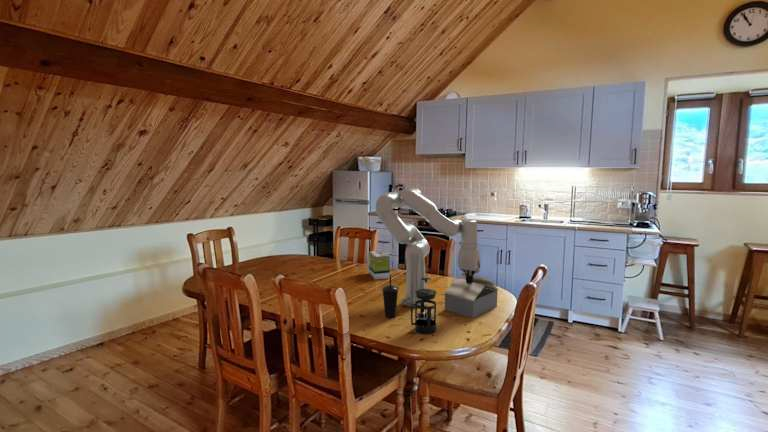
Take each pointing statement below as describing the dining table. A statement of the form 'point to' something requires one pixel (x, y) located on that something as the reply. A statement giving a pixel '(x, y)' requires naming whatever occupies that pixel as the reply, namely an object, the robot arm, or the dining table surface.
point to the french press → (425, 318)
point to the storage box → (472, 303)
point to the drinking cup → (390, 300)
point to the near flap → (464, 289)
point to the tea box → (379, 264)
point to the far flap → (483, 282)
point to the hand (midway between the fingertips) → (469, 283)
